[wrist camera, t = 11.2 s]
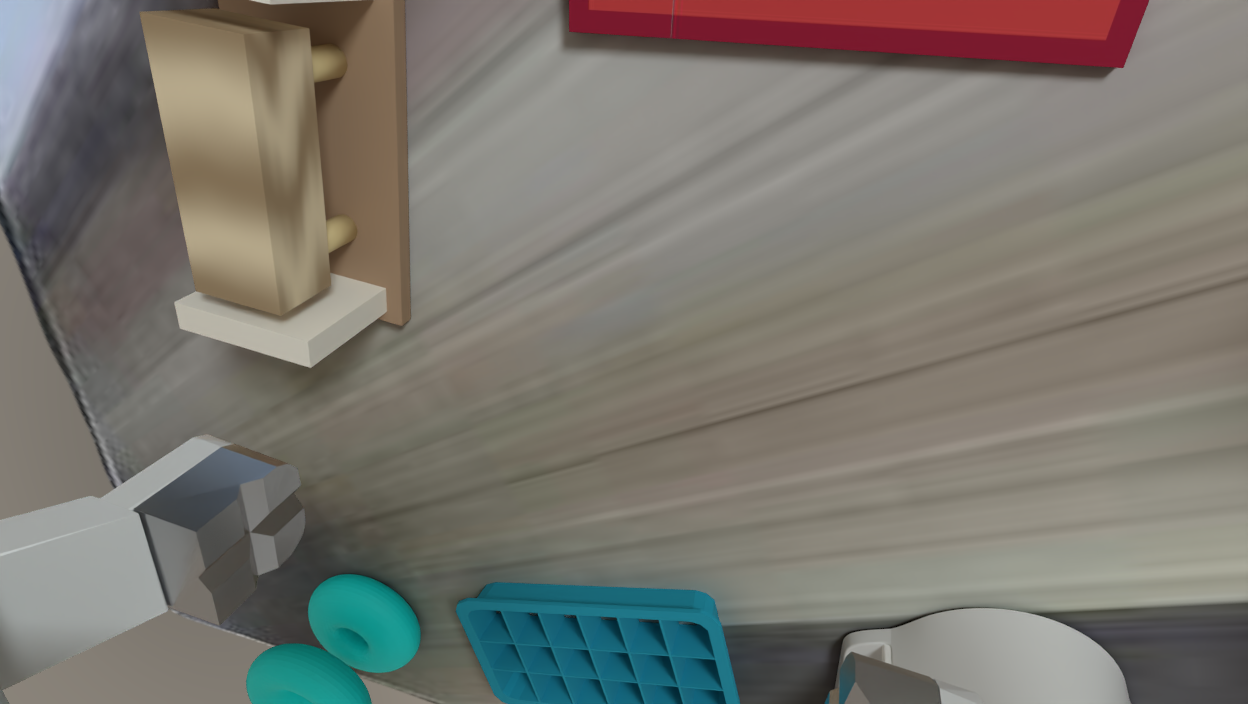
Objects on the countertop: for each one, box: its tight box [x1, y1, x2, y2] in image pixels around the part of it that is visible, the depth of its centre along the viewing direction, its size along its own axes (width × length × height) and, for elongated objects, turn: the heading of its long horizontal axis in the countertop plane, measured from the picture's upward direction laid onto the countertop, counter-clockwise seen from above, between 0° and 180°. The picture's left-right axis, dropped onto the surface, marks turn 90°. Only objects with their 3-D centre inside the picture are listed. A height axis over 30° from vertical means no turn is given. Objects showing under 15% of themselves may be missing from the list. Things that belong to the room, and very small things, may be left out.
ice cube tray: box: [456, 582, 740, 704], centre depth 50 cm, size 12×20×3 cm, turn 104°
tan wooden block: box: [140, 8, 331, 316], centre depth 33 cm, size 13×5×4 cm, turn 171°
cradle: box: [174, 0, 411, 368], centre depth 34 cm, size 20×10×8 cm, turn 171°
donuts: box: [246, 574, 421, 704], centre depth 54 cm, size 10×10×10 cm
